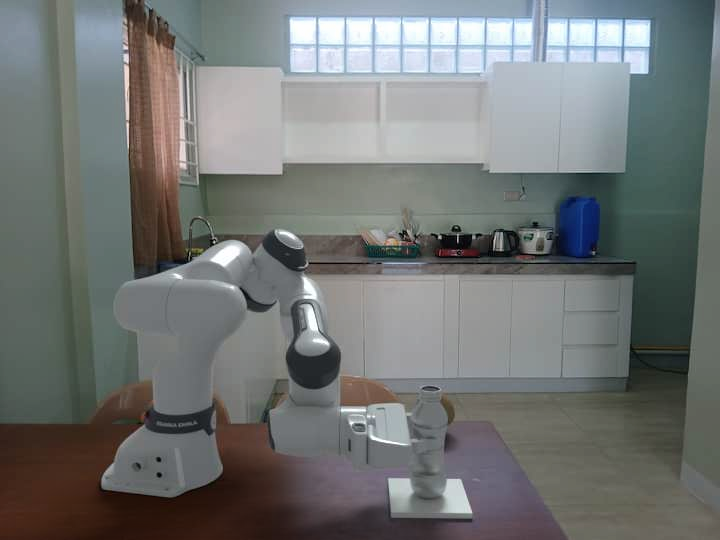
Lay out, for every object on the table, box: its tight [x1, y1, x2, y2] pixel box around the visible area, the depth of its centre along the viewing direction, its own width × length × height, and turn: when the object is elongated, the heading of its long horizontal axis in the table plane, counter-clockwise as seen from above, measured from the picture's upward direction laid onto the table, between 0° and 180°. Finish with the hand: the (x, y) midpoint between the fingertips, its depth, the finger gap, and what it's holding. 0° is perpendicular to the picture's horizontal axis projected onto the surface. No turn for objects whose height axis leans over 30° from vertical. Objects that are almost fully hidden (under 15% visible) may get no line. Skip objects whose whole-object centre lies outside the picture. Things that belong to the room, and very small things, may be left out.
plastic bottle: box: [409, 385, 448, 499], centre depth 105 cm, size 6×7×20 cm
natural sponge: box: [415, 392, 456, 427], centre depth 135 cm, size 9×9×10 cm
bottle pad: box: [387, 477, 473, 520], centre depth 106 cm, size 14×12×1 cm
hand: (433, 432), depth 104 cm, fingers open, 8 cm apart
